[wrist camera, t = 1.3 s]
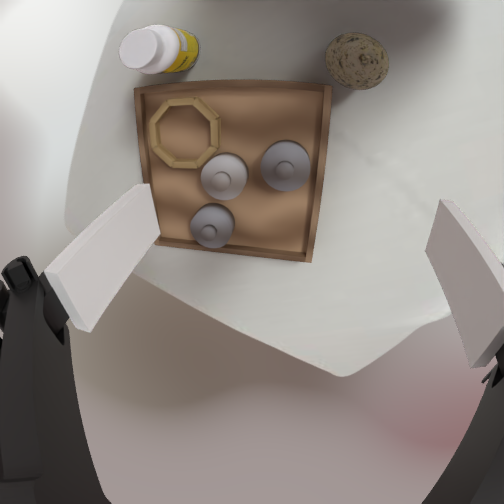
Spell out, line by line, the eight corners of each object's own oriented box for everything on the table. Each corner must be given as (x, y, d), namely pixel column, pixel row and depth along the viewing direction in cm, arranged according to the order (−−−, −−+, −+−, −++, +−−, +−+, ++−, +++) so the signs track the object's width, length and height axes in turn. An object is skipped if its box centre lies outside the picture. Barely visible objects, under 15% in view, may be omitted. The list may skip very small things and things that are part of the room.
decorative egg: (370, 94, 26) (397, 103, 18) (318, 79, 26) (324, 80, 18) (380, 48, 22) (411, 38, 14) (327, 32, 22) (338, 13, 14)
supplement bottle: (165, 78, 28) (119, 85, 20) (155, 41, 25) (106, 37, 17) (207, 63, 27) (170, 62, 19) (195, 24, 24) (155, 11, 16)
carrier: (144, 86, 29) (122, 90, 25) (330, 85, 26) (335, 86, 22) (161, 235, 42) (147, 254, 38) (311, 251, 39) (311, 274, 35)
